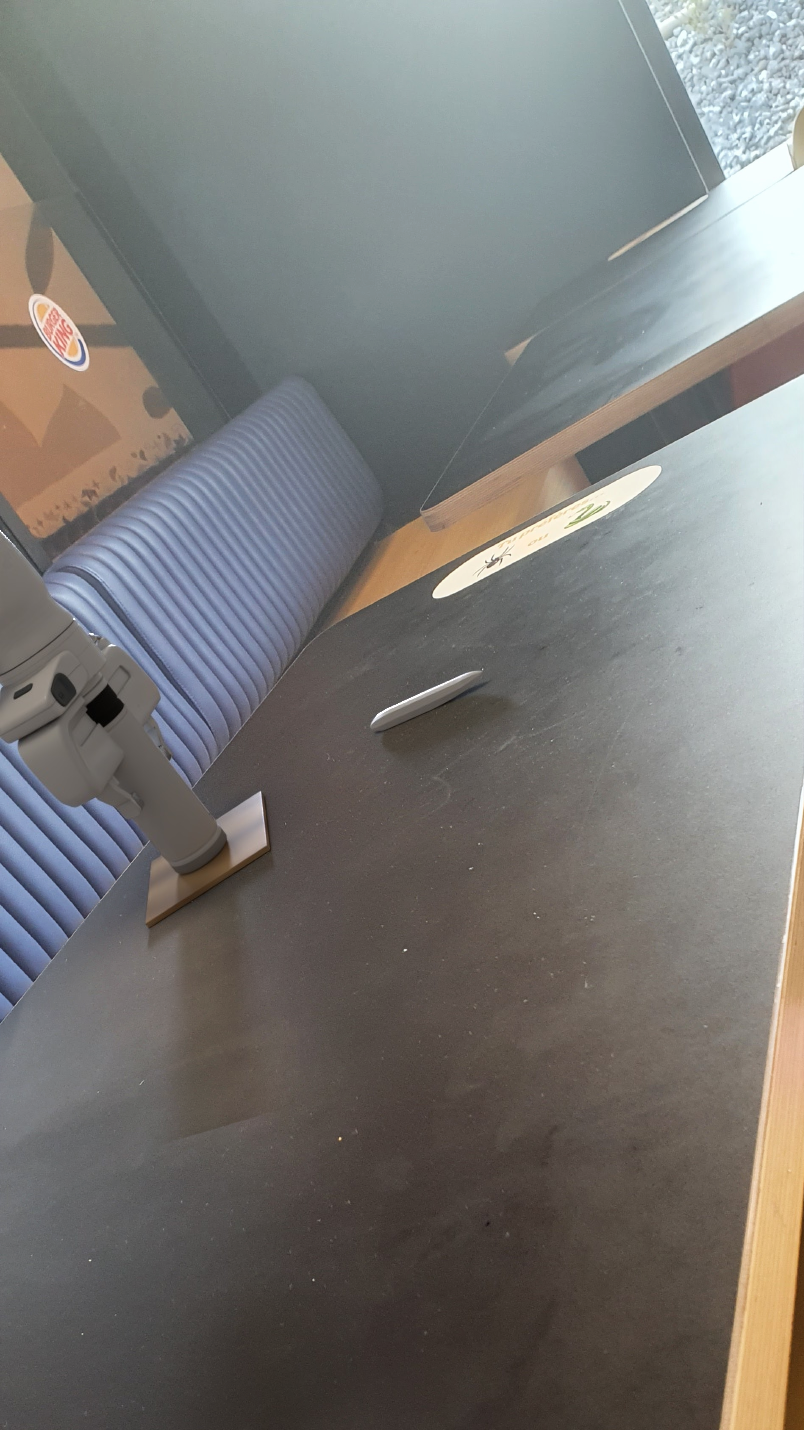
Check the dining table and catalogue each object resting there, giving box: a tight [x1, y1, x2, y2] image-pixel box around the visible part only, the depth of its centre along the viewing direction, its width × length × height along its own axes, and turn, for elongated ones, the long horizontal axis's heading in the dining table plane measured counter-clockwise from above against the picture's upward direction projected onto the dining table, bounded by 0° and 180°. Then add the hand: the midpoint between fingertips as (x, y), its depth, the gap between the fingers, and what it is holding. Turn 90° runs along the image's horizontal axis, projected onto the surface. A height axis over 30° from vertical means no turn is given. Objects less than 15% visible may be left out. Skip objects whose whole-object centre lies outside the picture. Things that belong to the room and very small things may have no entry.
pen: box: [369, 670, 484, 732], centre depth 116 cm, size 2×14×2 cm, turn 80°
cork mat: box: [144, 790, 271, 929], centre depth 116 cm, size 14×14×1 cm
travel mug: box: [86, 683, 227, 874], centre depth 111 cm, size 6×7×20 cm
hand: (152, 787), depth 112 cm, fingers open, 8 cm apart
